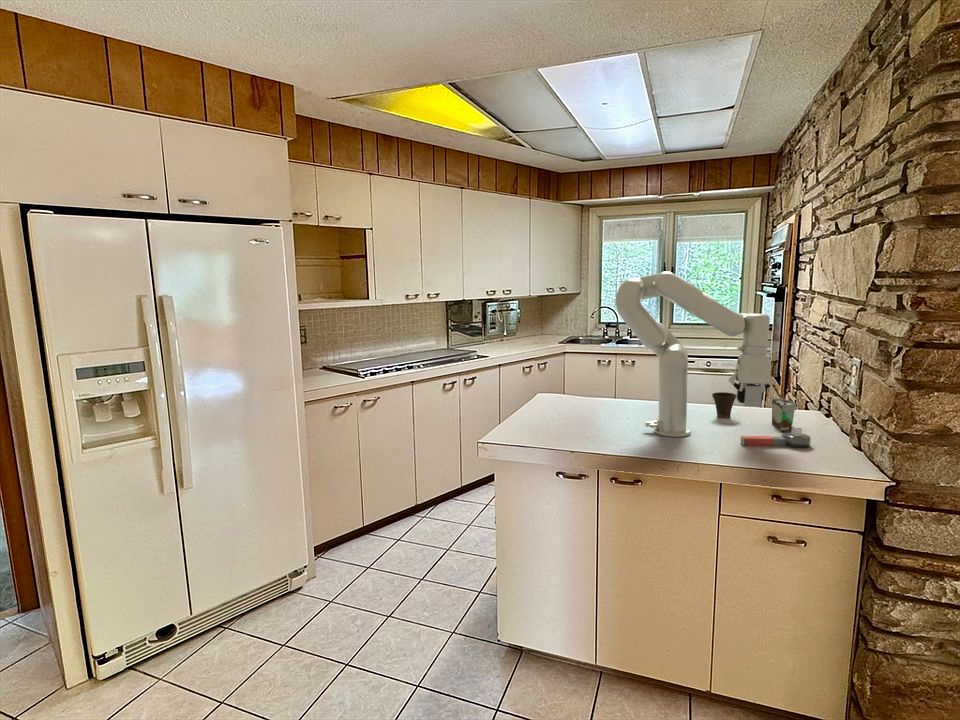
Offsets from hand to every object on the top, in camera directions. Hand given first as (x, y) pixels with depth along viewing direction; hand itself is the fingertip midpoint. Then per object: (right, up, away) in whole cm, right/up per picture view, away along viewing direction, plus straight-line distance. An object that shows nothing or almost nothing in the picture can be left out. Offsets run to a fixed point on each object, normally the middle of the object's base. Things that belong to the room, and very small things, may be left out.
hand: (749, 401), depth 184 cm
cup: (+4, -9, +29) cm, 31 cm away
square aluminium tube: (0, -1, 0) cm, 1 cm away
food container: (+18, -11, +11) cm, 24 cm away
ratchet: (+5, -14, -7) cm, 16 cm away
